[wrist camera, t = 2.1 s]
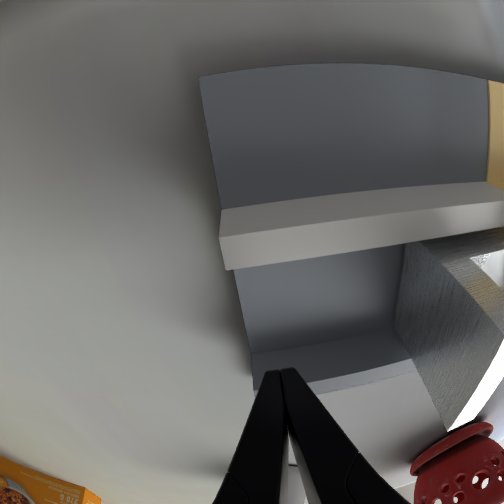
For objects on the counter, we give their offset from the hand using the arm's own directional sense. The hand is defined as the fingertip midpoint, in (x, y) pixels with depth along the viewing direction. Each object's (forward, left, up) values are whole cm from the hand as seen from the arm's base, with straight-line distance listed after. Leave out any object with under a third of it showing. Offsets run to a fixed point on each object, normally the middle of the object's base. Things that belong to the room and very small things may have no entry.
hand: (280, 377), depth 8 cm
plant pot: (-19, +29, -5) cm, 35 cm away
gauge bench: (-10, 0, -5) cm, 11 cm away
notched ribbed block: (-7, -2, -3) cm, 8 cm away
